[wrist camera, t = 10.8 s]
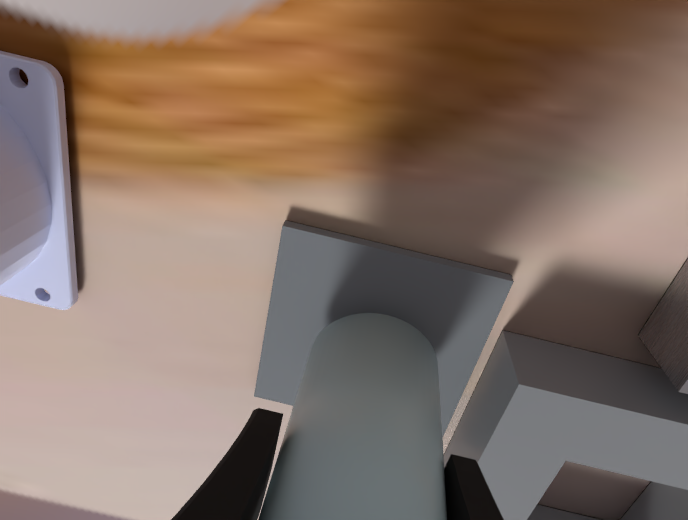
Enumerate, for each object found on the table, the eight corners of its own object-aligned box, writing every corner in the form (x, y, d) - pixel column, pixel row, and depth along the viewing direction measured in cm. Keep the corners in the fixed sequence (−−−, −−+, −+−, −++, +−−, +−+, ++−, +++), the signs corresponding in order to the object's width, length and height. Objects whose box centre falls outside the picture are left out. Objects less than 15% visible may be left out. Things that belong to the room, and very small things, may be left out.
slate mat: (256, 388, 18) (254, 396, 18) (285, 220, 14) (282, 225, 14) (440, 432, 18) (440, 440, 18) (510, 274, 15) (513, 281, 14)
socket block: (415, 515, 20) (417, 577, 18) (502, 330, 16) (519, 384, 13) (644, 570, 20) (673, 638, 18) (801, 402, 16) (867, 467, 13)
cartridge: (295, 401, 16) (201, 705, 9) (314, 292, 14) (211, 579, 7) (424, 431, 16) (429, 763, 9) (462, 326, 14) (509, 653, 7)
